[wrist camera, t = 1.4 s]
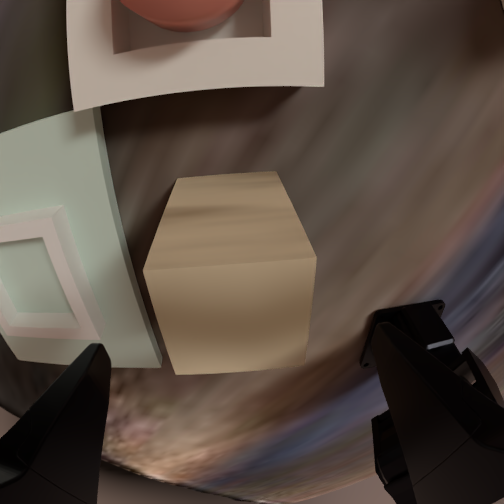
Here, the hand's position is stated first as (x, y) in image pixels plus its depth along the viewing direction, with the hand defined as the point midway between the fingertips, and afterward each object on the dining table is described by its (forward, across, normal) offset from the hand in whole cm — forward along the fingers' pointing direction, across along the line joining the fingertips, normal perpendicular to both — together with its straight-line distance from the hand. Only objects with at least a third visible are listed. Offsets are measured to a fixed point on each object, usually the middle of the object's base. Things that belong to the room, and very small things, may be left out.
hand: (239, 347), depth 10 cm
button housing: (+9, +1, -12) cm, 15 cm away
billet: (+9, 0, 0) cm, 9 cm away
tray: (+9, +13, +2) cm, 16 cm away
